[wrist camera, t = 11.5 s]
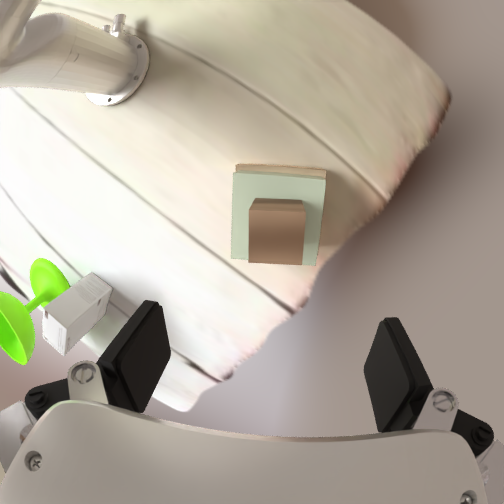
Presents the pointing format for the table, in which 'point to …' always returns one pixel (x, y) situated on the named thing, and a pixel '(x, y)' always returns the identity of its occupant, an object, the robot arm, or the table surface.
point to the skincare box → (75, 312)
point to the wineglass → (28, 310)
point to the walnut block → (276, 231)
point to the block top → (276, 187)
